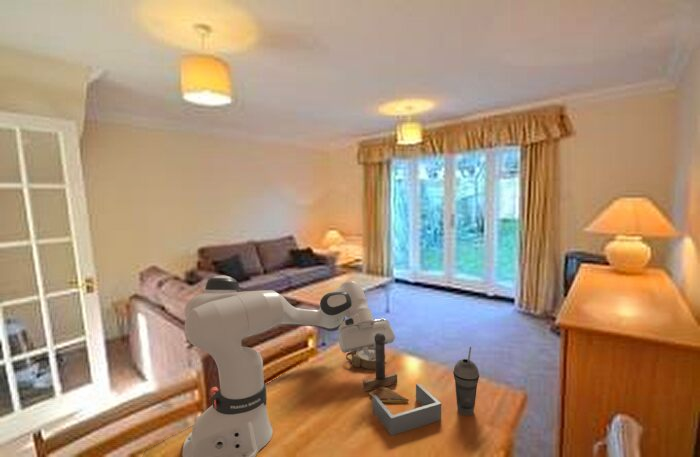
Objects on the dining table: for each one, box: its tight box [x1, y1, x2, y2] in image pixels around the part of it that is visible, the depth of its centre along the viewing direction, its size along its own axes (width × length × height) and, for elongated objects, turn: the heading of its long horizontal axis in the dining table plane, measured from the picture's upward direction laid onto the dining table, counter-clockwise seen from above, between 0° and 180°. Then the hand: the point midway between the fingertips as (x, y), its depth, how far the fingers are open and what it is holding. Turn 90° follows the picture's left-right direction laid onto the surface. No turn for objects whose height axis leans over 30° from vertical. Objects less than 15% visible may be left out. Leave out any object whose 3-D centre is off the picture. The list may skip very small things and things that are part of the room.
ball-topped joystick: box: [362, 333, 398, 392], centre depth 118 cm, size 12×4×18 cm, turn 112°
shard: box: [369, 386, 410, 404], centre depth 112 cm, size 11×8×2 cm
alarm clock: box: [345, 347, 387, 370], centre depth 136 cm, size 11×5×15 cm
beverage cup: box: [452, 346, 480, 417], centre depth 104 cm, size 7×7×20 cm
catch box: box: [371, 383, 442, 436], centre depth 104 cm, size 16×12×5 cm
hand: (373, 359), depth 123 cm, fingers closed
